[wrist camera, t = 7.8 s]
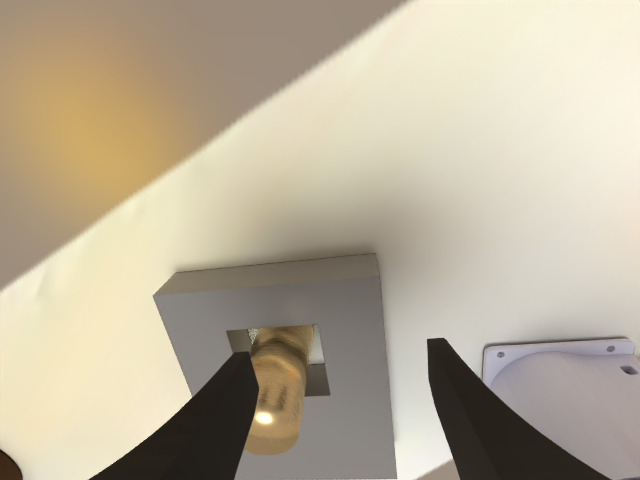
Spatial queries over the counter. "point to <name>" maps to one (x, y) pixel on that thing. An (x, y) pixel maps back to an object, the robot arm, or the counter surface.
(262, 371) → the pin
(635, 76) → the counter surface
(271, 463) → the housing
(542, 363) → the robot arm
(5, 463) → the olive oil
